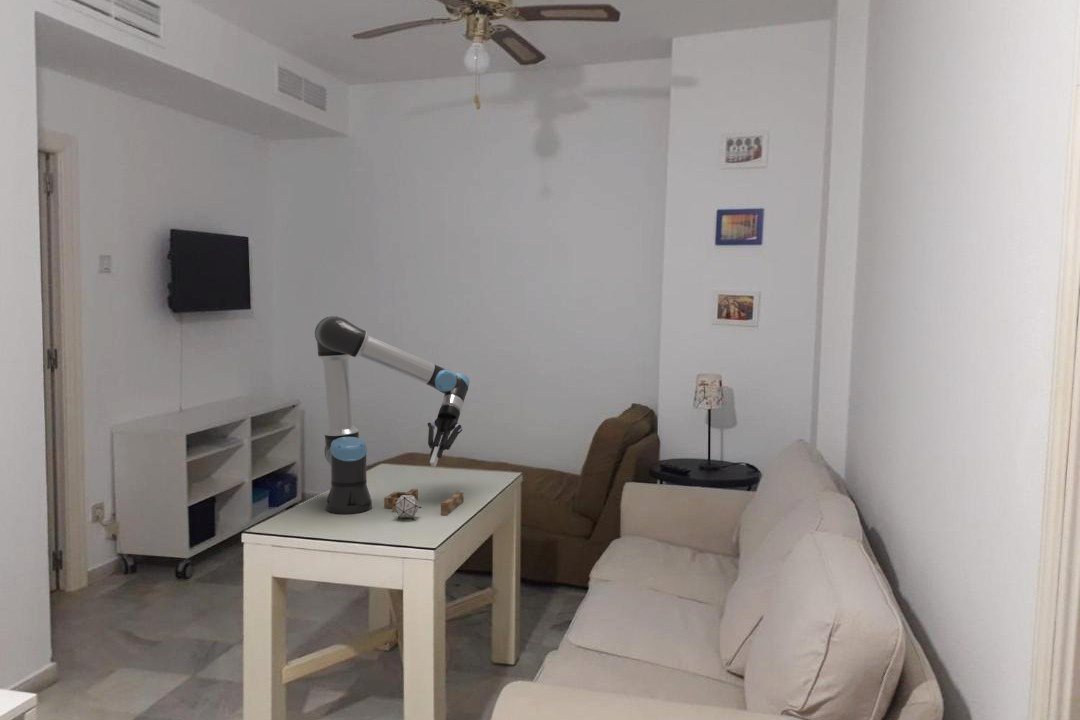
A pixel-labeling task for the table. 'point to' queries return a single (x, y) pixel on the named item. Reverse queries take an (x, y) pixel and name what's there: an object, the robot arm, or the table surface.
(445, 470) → the table surface
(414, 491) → the wooden blocks
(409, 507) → the game die
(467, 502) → the table surface
